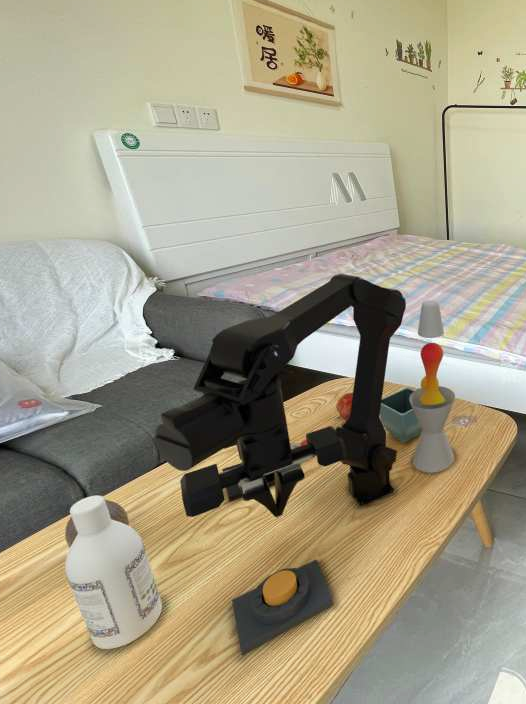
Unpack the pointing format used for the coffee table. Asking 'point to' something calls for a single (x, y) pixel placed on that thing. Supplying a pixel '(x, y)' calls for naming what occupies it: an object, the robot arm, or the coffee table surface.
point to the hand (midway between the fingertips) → (278, 514)
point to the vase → (115, 514)
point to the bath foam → (110, 576)
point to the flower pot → (400, 415)
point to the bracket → (235, 490)
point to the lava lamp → (432, 398)
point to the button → (280, 588)
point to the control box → (280, 608)
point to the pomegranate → (344, 405)
